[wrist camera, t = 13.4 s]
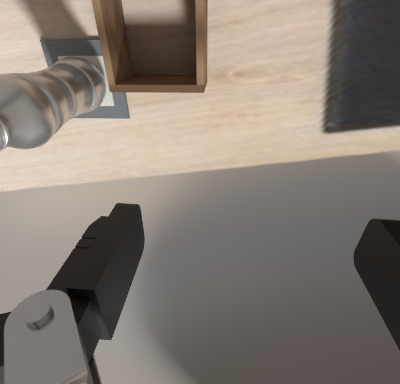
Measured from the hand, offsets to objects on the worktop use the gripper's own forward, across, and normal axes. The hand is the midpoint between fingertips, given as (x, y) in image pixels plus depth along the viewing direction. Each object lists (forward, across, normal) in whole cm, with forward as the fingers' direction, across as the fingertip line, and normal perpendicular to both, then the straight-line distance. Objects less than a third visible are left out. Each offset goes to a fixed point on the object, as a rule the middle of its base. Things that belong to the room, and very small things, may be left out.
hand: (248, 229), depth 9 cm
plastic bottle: (+30, +20, +1) cm, 36 cm away
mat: (+30, +20, +1) cm, 36 cm away
